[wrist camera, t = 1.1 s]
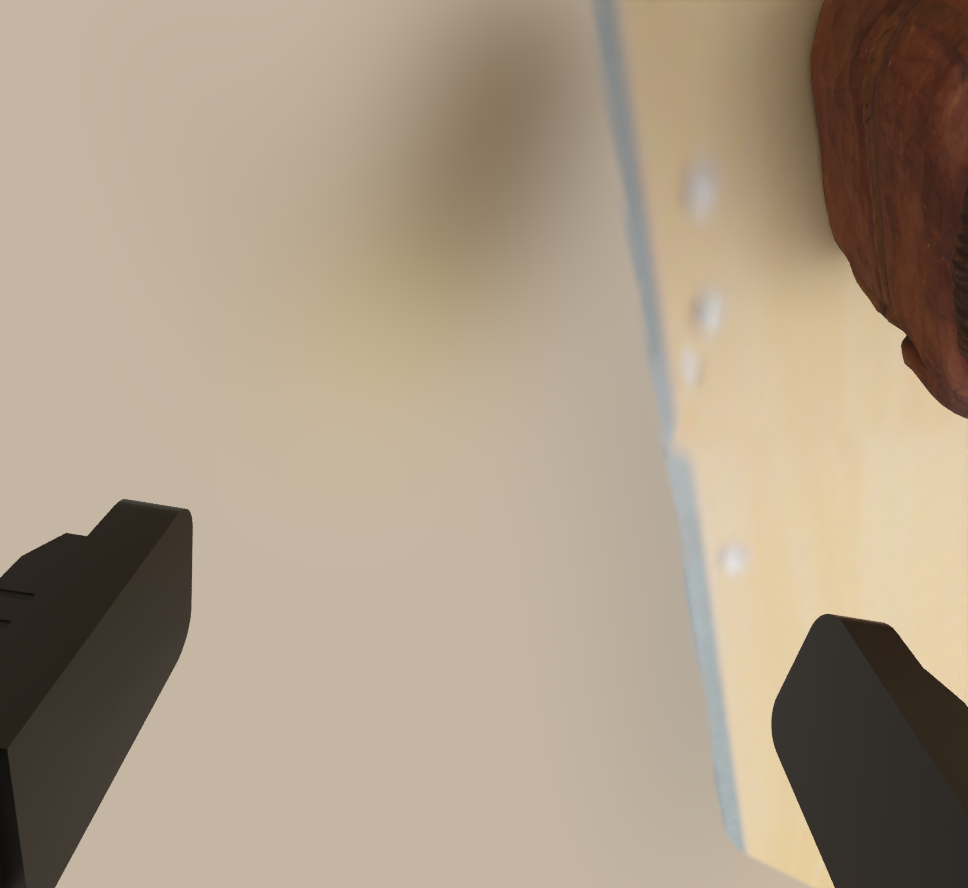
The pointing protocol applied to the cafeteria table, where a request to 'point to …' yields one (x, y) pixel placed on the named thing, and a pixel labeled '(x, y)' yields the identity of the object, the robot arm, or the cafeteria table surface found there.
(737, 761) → the cafeteria table surface
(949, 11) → the wooden figurine
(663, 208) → the cafeteria table surface
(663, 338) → the cafeteria table surface
